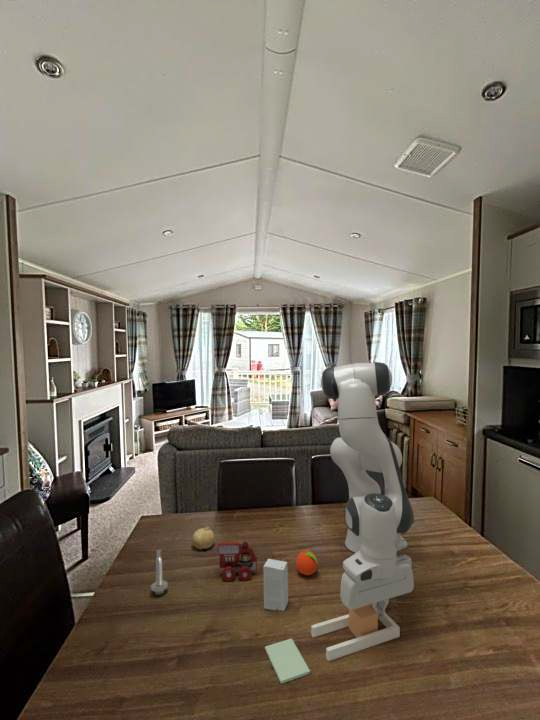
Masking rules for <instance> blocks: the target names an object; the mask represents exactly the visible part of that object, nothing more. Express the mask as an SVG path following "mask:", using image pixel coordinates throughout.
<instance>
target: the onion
mask: <svg viewBox="0 0 540 720" xmlns="http://www.w3.org/2000/svg"><path fill="white" fill-rule="evenodd" d="M215 537H216V536H215V533H214V532H213V530H211V528H210V527H209V526H208V524H207V525H206V527H202V528H199V529H197V530H195V532H194V533H193V535H192V537H191V538H192V539H191V540H192V544H193V546H194V547H195V548H196V549H198V550H201V551H202V550H203V549H205V550H207V549H209V548H211V547H212V546H213V545H214V543H215Z"/></svg>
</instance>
